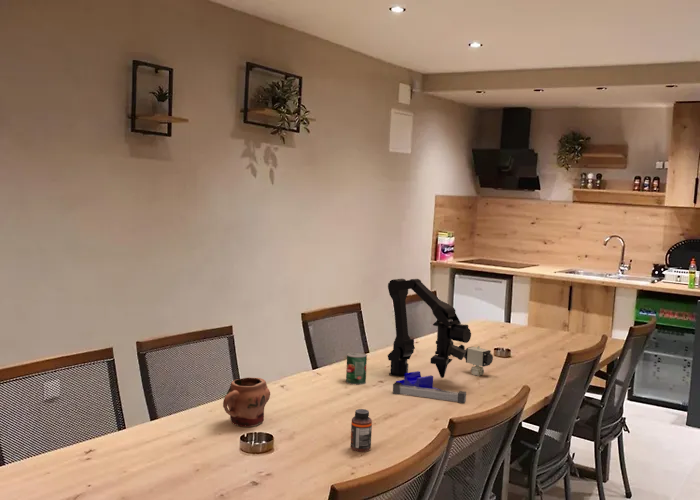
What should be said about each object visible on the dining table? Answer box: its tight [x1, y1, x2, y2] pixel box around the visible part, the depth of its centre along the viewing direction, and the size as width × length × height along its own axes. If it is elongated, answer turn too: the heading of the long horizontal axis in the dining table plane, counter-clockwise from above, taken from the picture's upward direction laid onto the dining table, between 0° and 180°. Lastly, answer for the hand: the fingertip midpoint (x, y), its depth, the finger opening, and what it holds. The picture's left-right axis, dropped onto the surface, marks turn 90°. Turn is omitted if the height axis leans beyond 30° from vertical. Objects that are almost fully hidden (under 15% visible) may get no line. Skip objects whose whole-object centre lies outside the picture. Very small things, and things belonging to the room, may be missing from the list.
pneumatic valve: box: [463, 346, 494, 377], centre depth 292 cm, size 6×12×12 cm, turn 46°
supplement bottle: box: [350, 408, 373, 453], centre depth 202 cm, size 6×6×11 cm
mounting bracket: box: [395, 370, 441, 390], centre depth 267 cm, size 18×7×6 cm, turn 37°
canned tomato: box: [345, 351, 368, 386], centre depth 273 cm, size 8×8×11 cm
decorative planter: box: [222, 377, 271, 428], centre depth 219 cm, size 20×12×14 cm, turn 154°
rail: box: [392, 381, 467, 404], centre depth 256 cm, size 27×3×4 cm, turn 70°
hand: (442, 377), depth 273 cm, fingers closed
